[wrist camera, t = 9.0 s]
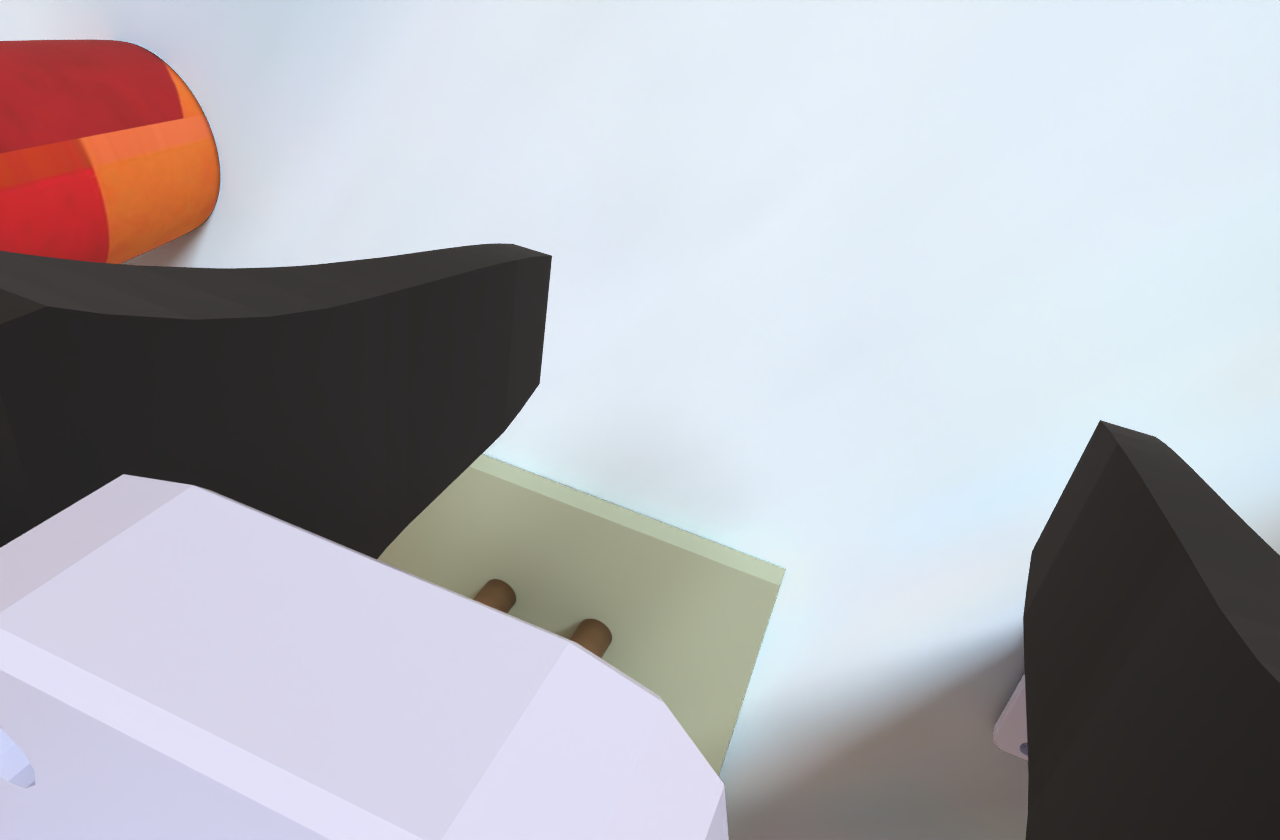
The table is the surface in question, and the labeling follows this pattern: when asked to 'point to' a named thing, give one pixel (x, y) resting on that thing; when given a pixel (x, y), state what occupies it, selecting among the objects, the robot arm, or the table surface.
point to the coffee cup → (99, 151)
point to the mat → (605, 585)
